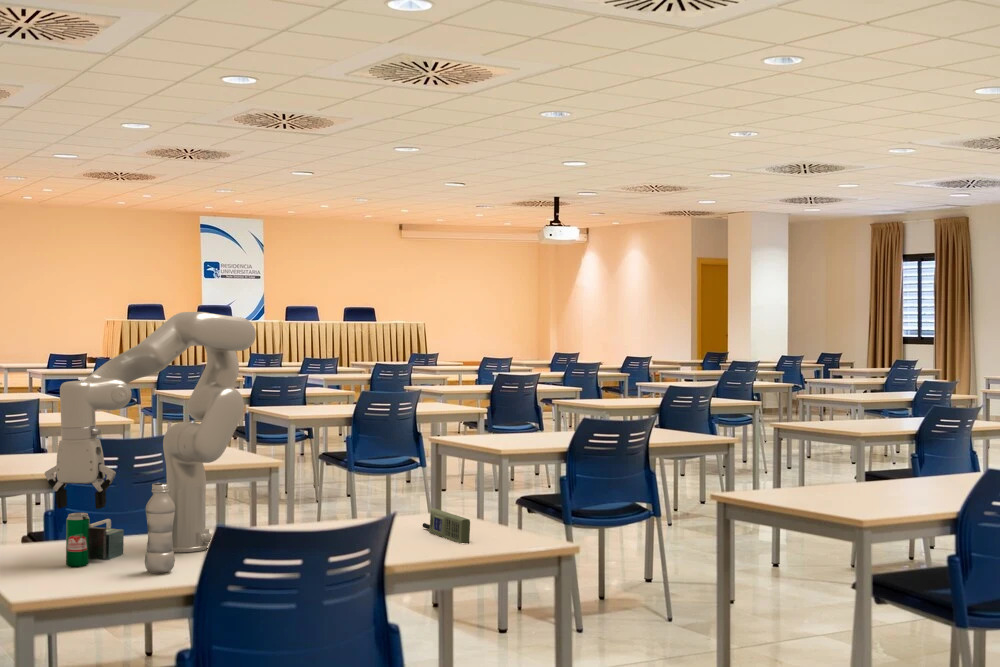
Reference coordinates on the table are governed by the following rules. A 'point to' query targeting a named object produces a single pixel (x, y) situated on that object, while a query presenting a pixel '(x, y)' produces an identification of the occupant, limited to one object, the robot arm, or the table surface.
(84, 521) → the soda can
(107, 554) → the dark grey cube
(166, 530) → the plastic bottle
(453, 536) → the handheld radio
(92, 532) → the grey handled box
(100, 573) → the table surface
